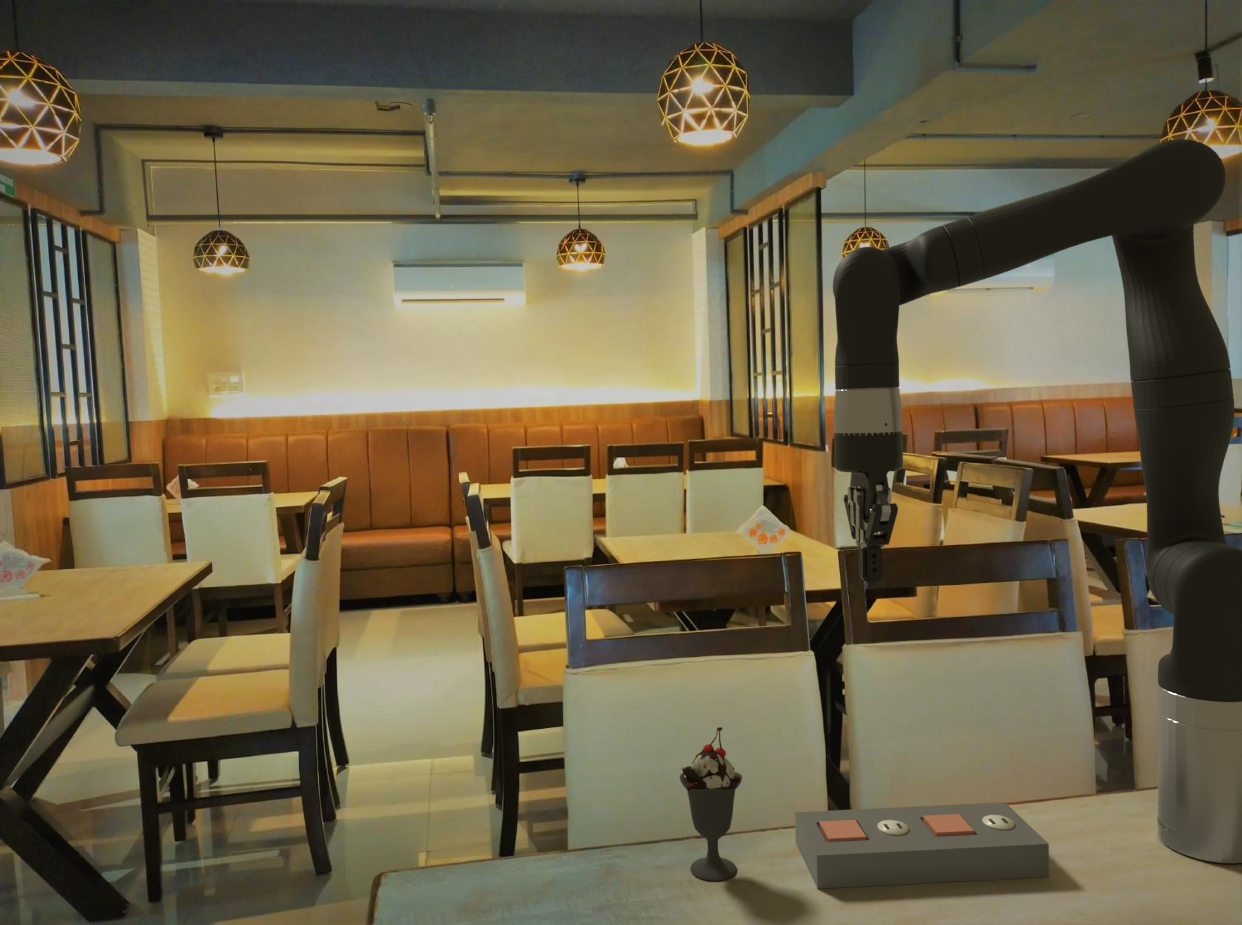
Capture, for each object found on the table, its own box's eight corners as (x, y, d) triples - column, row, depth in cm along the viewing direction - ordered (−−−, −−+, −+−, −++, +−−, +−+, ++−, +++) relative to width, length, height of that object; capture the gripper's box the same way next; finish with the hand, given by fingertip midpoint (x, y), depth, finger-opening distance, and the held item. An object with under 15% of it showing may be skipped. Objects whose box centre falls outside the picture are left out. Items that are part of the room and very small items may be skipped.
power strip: (1005, 832, 105) (1004, 799, 105) (1048, 876, 95) (1048, 840, 95) (795, 842, 104) (794, 809, 104) (817, 888, 94) (816, 852, 94)
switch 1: (855, 841, 101) (855, 819, 101) (866, 859, 97) (866, 836, 97) (819, 843, 101) (819, 821, 101) (829, 861, 97) (828, 838, 97)
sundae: (743, 854, 102) (739, 721, 101) (745, 886, 95) (741, 744, 94) (683, 853, 102) (679, 721, 101) (681, 885, 96) (677, 743, 95)
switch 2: (959, 836, 101) (958, 814, 101) (974, 853, 97) (974, 830, 97) (923, 837, 101) (923, 815, 101) (937, 855, 97) (936, 832, 97)
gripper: (921, 429, 98) (923, 590, 99) (882, 426, 111) (884, 568, 112) (851, 431, 98) (854, 593, 99) (820, 428, 111) (823, 571, 112)
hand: (870, 579), depth 106 cm, fingers closed
